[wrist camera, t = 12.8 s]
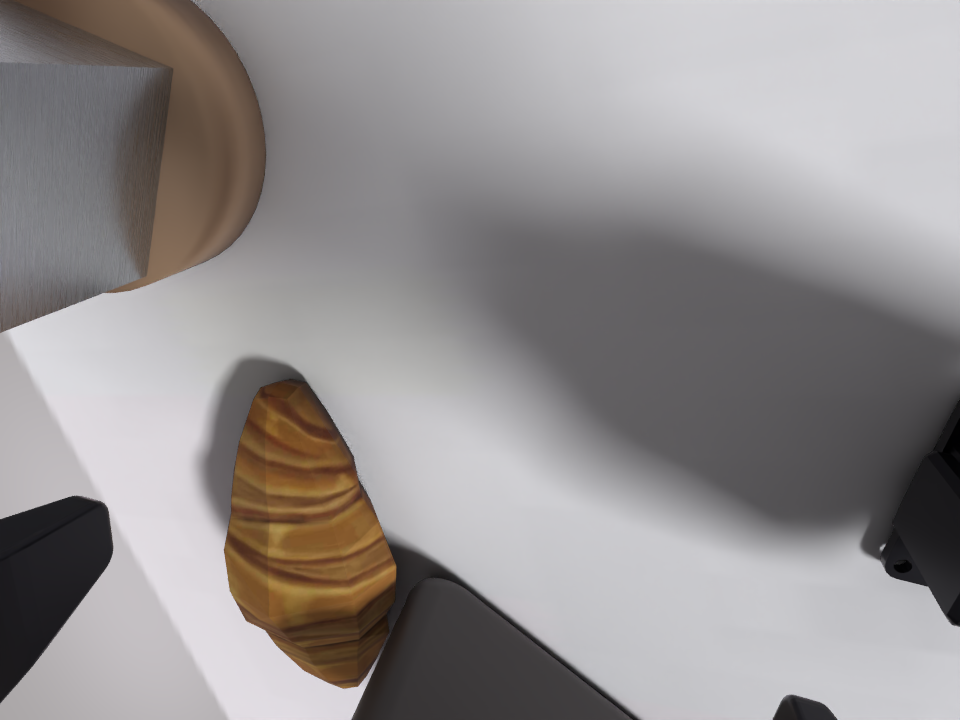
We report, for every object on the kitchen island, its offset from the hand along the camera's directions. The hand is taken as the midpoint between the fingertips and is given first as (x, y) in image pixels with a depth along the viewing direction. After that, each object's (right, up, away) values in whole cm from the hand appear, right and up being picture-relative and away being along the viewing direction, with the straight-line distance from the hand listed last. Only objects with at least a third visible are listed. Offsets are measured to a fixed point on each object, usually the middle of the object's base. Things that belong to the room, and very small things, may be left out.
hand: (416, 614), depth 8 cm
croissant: (-5, -3, +18) cm, 19 cm away
